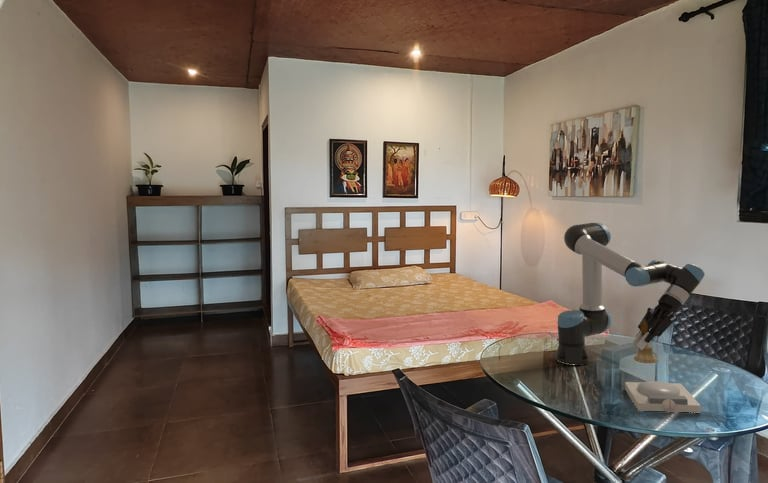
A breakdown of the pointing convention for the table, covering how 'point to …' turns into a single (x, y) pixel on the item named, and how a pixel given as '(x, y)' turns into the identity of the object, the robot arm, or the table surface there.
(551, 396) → the table surface
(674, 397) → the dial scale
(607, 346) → the table surface
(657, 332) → the robot arm
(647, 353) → the hand bell
